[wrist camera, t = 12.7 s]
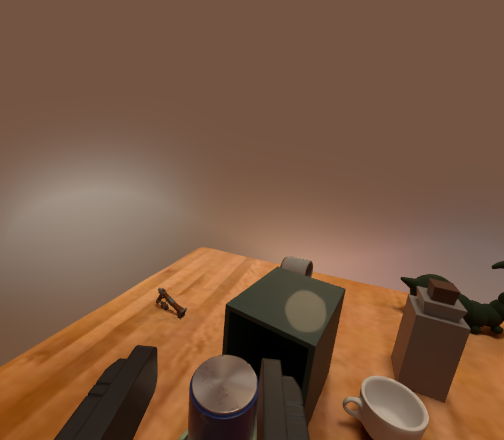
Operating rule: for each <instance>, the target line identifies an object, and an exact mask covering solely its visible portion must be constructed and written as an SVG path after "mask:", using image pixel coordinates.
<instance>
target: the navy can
mask: <svg viewBox="0 0 504 440" xmlns="http://www.w3.org/2000/svg"><path fill="white" fill-rule="evenodd" d="M258 387H259V382H258V378H257V376H256V374H255V372H254V370H253V368H252V367H251V366H250V365H249V364H248V363H247V362H246V361H244V360H243V359H241V358H239V357H236V356H232V355H219V356H215V357H212V358H210V359H208V360H206V361H205V362H203V363H202V364H201V365H200V366H199V367H198V369H197V370H196V371H195V373H194V375H193V376H192V379H191V382H190V389H189V417H188V440H253V434H254V426H255V418H256V410H257V399H258Z"/></svg>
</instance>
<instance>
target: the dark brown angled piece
mask: <svg viewBox="0 0 504 440" xmlns="http://www.w3.org/2000/svg"><path fill="white" fill-rule="evenodd" d="M158 291H159V292H158V293H160V295H159V297H158V298H157V300H156V303H157V304H158V303H159V302H161V303H162V305H161V307H163V308H164V309H169V307H168V304H166V302H167V301H168V302H167V303H169V304H170V305H171V306H172V307H173V308H174V309H175V310H176V311H177V313H178V314H179V315H178V317H181V316H182V315H183V314H185V312H186V310H187V308H182V307H181V306H179V305H178V304H177V303H176V302H175V301H174V300H173V298H171V296H169V295H168V294H167V293H166V290H165V289H163V288H162V289H161V288H159V289H158ZM162 296H163V297H162ZM162 298H165V299H166V302H163V301H161V299H162Z"/></svg>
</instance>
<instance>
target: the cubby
mask: <svg viewBox="0 0 504 440" xmlns="http://www.w3.org/2000/svg"><path fill="white" fill-rule="evenodd" d="M344 294H345V289H344V288H341V287H338V286H335V285H332V284H329V283H326V282H323V281H320V280H317V279H314V278H311V277H308V276H305V275H302V274H299V273H296V272H292V271H289V270H286V269H283V268H280V267H276V268H275V269H274V270H272V271H271V272H269V273H268V274H267V275H265V276H264V277H263V278H261V279H260V280H258V281H257V282H256V283H254V284H253V285H252V286H250V287H249V288H247V289H246V290H245V291H243V292H242V293H241V294H239V295H238V296H236V297H235V298H234V299H232V300H231V301H230V302H228V303H227V304H226V309H225V323H224V337H223V350H222V355H232V356H236V357H239V358H241V359H243V360H244V361H246V362H247V363H248V364H249V365H250V366H251V367H252V368H253V370H254V372H255V374H256V376H257V378H258V382H259V379H260V370H261V362H262V358H265V359H275V360H280V362H281V370H282V376H292V377H294V379H295V381H296V382H297V384H298V386H299V387H300V389H301V394H302V400H303V407H304V411H305V419H306V423H307V427H308V424H309V422H310V419H311V416H312V414H313V411H314V409H315V406H316V403H317V401H318V398H319V396H320V393H321V390H322V388H323V385H324V383H325V380H326V377H327V375H328V372H329V368H330V363H331V358H332V353H333V348H334V343H335V339H336V334H337V329H338V324H339V319H340V314H341V309H342V304H343V299H344Z"/></svg>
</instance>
